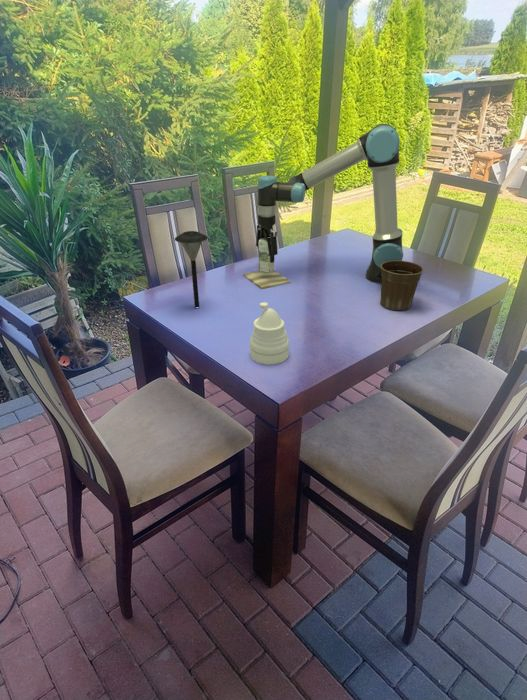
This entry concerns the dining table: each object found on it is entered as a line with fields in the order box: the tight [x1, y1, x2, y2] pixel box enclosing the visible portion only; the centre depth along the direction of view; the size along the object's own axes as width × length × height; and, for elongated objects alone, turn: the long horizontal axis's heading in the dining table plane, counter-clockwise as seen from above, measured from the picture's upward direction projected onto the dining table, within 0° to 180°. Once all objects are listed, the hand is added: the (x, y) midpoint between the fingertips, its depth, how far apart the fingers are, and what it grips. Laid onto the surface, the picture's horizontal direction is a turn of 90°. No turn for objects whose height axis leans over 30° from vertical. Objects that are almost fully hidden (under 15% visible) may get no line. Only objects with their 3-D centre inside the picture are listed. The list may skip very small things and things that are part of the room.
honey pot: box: [249, 301, 290, 366], centre depth 143 cm, size 13×13×18 cm
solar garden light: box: [174, 230, 209, 308], centre depth 170 cm, size 12×12×30 cm
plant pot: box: [379, 260, 424, 312], centre depth 177 cm, size 16×16×16 cm
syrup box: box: [258, 238, 275, 273], centre depth 198 cm, size 6×6×14 cm
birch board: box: [242, 270, 291, 290], centre depth 204 cm, size 18×15×1 cm
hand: (266, 265), depth 201 cm, fingers closed on syrup box, 8 cm apart
